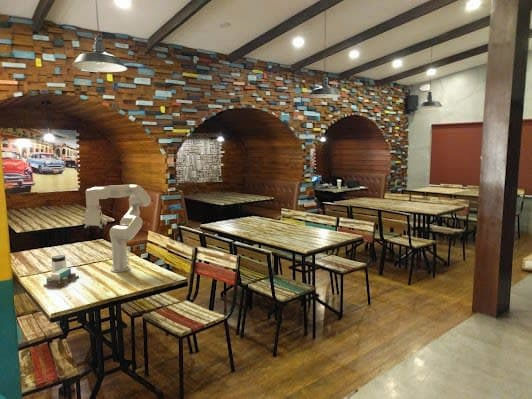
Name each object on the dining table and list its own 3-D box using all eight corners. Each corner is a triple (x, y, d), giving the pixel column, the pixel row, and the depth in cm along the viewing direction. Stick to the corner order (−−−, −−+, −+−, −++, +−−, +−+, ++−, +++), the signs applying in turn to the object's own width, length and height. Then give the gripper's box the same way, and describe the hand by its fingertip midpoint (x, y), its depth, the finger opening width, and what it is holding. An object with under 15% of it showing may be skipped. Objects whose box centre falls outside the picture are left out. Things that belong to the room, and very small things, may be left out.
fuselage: (64, 276, 264) (63, 267, 263) (71, 276, 263) (70, 268, 262) (51, 283, 251) (50, 274, 250) (59, 283, 250) (58, 274, 249)
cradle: (62, 276, 267) (61, 270, 266) (78, 277, 266) (78, 271, 265) (43, 286, 248) (42, 280, 248) (61, 287, 247) (61, 280, 246)
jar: (58, 271, 279) (56, 254, 277) (69, 271, 278) (67, 254, 277) (50, 275, 270) (48, 258, 268) (61, 275, 269) (60, 258, 268)
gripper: (108, 207, 259) (110, 232, 261) (83, 206, 261) (85, 232, 263) (102, 209, 252) (104, 235, 254) (77, 208, 254) (78, 235, 256)
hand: (94, 233), depth 259 cm, fingers open, 9 cm apart
